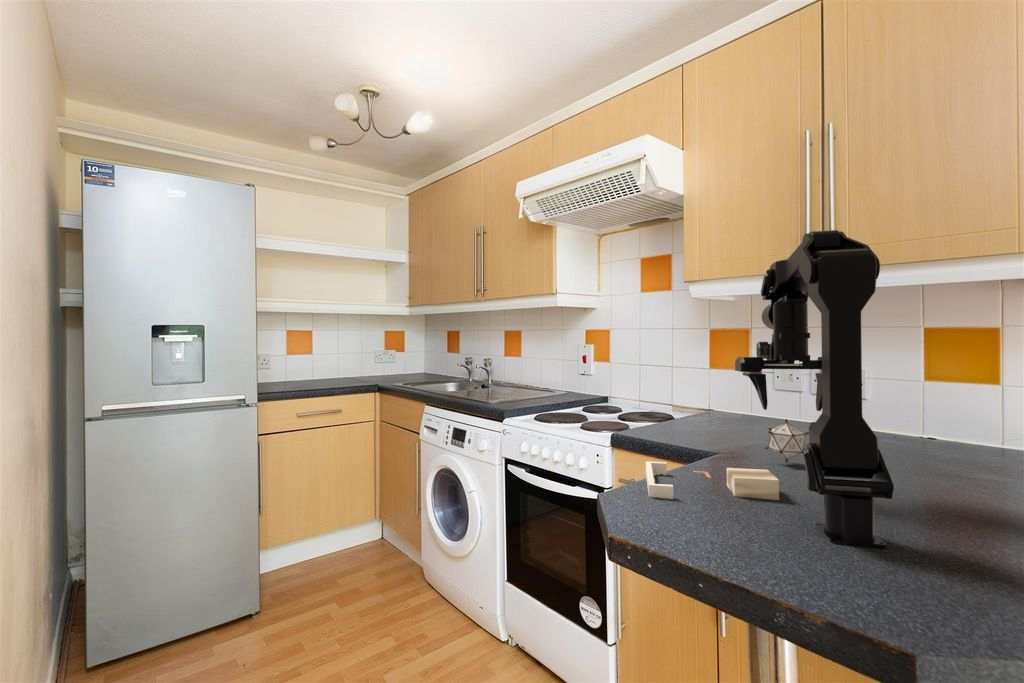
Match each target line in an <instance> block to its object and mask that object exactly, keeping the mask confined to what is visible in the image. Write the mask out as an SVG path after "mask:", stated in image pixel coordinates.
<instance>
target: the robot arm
mask: <svg viewBox="0 0 1024 683" xmlns="http://www.w3.org/2000/svg"><path fill="white" fill-rule="evenodd" d="M801 240H802V241H801V243H800V244H798V246H797V247H796V248H795V250H794V251H792V253H791V254H790V256H789V257H788V258H787V259H781V260H776V261H775V262H773V263H771V265H770V266H769V269H767V270H766V271H765V272H766V273H765V274H764V276H763V279H762V284H761V290H760V294H761V297H762V301H770V304H768V305H767V306H766V307H764V309H763V310H762V312H761V320H762V324H763V325H764V326H765V327H766V328H768V329H771V330H773V333H772V335H771V336H772V337H771V342H770V343H769V342H768V341H758V342H757V343H756V347H755V348H756V356H738V357H737V358H736V359H735V361H734V362H735V363H734V371H735V372H742V375H743V377H744V376H745V377H748V378H749V379H750V381H751V383H752V385H753V386H754V388H755V391H756V393H757V395H758V398H759V401H760V403H761V407H762V410H765V411H766V410H768V389H767V374H765V373H763V370H819V371H818V372H815V378H816V391H815V394H816V395H815V396H816V397H815V407H816V408H815V409H816V411H817V412H821V414H820V415H819V417H818V418H817V419H816V421H811V423H810V425H809V426H808V432H809V434H808V439H809V441H808V443H806V444H805V448H804V451H803V452H804V453H802V458H803V461H804V468H805V470H806V479H807V480H806V481H807V490H808V491H810V492H811V491H812V492H814V493H817V494H818V495H822V496H823V522H822V523H820V522H815V523H814V528H815V529H816V530H817V531H818V532H819V533H820V534H821V535H822V536H823V537H824V538H825V539H826V540H827V541H828V542H829V543H830V544H835V545H845V546H858V547H868V548H869V547H870V548H872V547H873V548H880V549H881V548H884V549H886V548H888V547H887V546H888V544H887V543H886V542H885V541H884V540H883V539H882V538H880V537H879V536H877V535H876V532H875V530H876V529H875V498H877V499H886V500H892V499H893V494H894V488H895V486H894V483H893V480H892V478H891V475H890V472H889V470H888V468H887V465H886V463H885V460H884V458H883V455H882V453H881V450H880V448H879V445H878V442H879V441H878V437H877V436H876V434H875V433H874V431H873V430H872V428H871V427H870V426H869V424H868V423H867V421H866V420H865V419H864V417H863V372H862V371H863V370H862V368H863V367H862V366H863V364H862V362H863V360H862V357H863V356H862V354H863V353H862V352H863V351H862V311H863V309H864V308H865V307H866V305H868V302H869V301H870V299H872V297H873V295H874V294H875V292H876V287H877V279H878V278H879V275H880V271H881V262H880V259H879V257H878V256H877V255H876V253H874V251H873V250H872V249H871V247H870V246H869V245H868V244H866V243H863V242H861V241H858V240H855V239H852V238H850V237H848V236H847V235H846V234H845V232H844V231H841V230H840V231H839V230H838V229H833V230H831V229H830V230H814V231H810V232H808V233H804V235H803V236H802V239H801ZM808 298H809V299H810V300H811V302H812V303H813V304H814V306H815V307H816V308H817V309H818V311H819V312H820V315H821V316H820V317H821V318H820V321H821V322H820V323H821V356H818V357H817V359H811V355H810V354H809V339H811V332H809V328H808V325H809V324H808V320H809V318H808V317H809V316H808V311H809V310H808V300H809V299H808ZM795 361H797V362H801V363H795Z"/></svg>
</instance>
